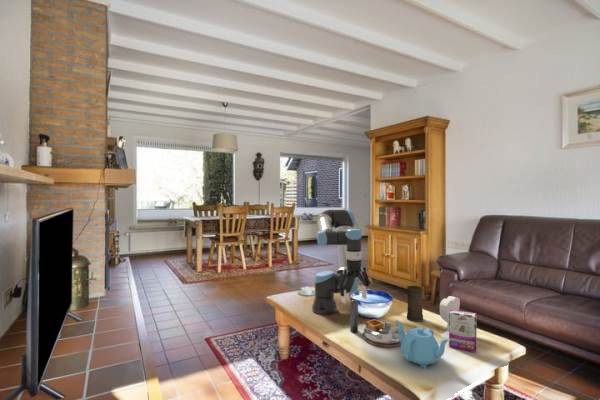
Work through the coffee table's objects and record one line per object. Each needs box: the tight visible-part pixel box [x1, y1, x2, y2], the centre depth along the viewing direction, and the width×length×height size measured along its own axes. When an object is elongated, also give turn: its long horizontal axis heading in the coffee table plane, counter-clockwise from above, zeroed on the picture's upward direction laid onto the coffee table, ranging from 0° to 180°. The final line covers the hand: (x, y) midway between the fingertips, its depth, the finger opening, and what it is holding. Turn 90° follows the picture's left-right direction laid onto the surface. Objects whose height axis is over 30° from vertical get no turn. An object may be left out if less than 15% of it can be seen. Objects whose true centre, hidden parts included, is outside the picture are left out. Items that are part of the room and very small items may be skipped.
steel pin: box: [349, 298, 359, 334], centre depth 170 cm, size 4×4×16 cm
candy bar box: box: [448, 310, 478, 353], centre depth 150 cm, size 11×5×16 cm, turn 59°
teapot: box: [395, 319, 450, 369], centre depth 139 cm, size 16×20×14 cm
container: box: [406, 285, 424, 323], centre depth 185 cm, size 9×9×18 cm
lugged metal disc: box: [363, 318, 400, 345], centre depth 161 cm, size 19×19×4 cm
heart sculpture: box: [439, 295, 461, 339], centre depth 166 cm, size 16×5×18 cm, turn 132°
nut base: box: [362, 332, 401, 349], centre depth 161 cm, size 20×20×1 cm
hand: (354, 300), depth 169 cm, fingers open, 13 cm apart
